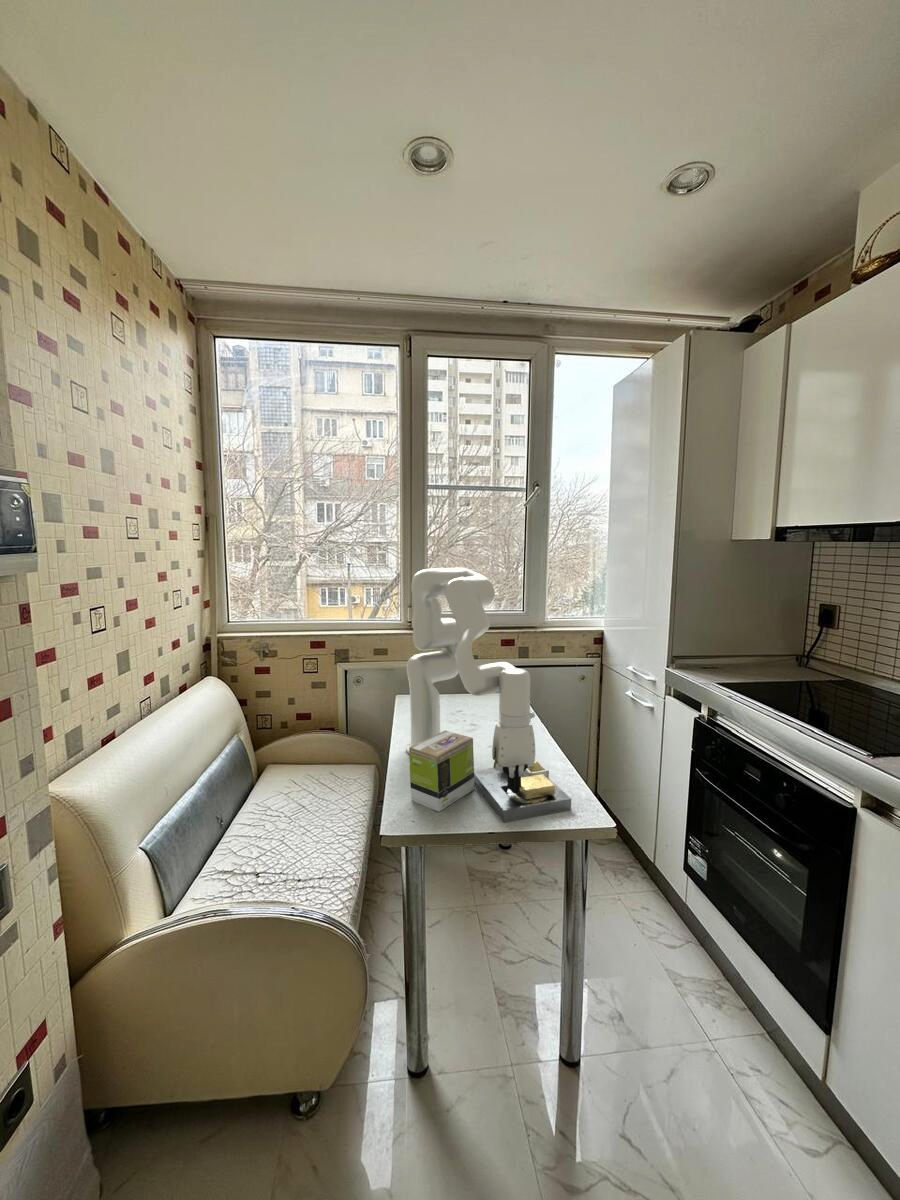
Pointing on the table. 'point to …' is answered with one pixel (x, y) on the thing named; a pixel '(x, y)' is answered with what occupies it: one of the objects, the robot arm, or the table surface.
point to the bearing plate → (517, 798)
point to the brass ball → (535, 767)
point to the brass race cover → (536, 786)
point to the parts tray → (537, 772)
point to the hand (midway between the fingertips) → (514, 790)
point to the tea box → (441, 769)
